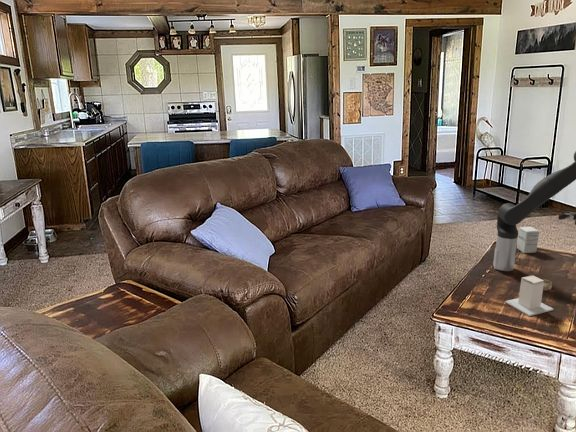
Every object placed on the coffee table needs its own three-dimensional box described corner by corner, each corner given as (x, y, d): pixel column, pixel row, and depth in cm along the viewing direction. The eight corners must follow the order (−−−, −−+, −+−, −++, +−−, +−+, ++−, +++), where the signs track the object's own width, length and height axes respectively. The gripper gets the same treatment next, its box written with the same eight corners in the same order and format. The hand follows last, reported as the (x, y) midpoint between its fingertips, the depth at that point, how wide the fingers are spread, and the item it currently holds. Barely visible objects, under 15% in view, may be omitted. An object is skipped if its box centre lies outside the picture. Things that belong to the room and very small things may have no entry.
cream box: (529, 309, 194) (533, 283, 190) (518, 303, 199) (521, 277, 196) (540, 306, 196) (544, 280, 192) (528, 300, 201) (532, 275, 198)
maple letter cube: (545, 290, 211) (546, 283, 210) (538, 287, 214) (539, 280, 213) (551, 289, 212) (552, 281, 211) (544, 286, 215) (545, 278, 214)
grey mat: (529, 316, 190) (529, 314, 190) (505, 302, 202) (505, 301, 201) (553, 310, 194) (553, 308, 194) (528, 296, 206) (528, 295, 206)
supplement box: (516, 248, 260) (519, 227, 256) (528, 247, 261) (531, 226, 257) (523, 253, 253) (526, 231, 249) (536, 252, 254) (539, 230, 250)
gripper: (580, 204, 222) (555, 208, 217) (609, 211, 210) (582, 216, 204) (578, 218, 225) (552, 223, 219) (606, 227, 212) (580, 232, 207)
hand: (567, 220), depth 212 cm, fingers open, 8 cm apart
